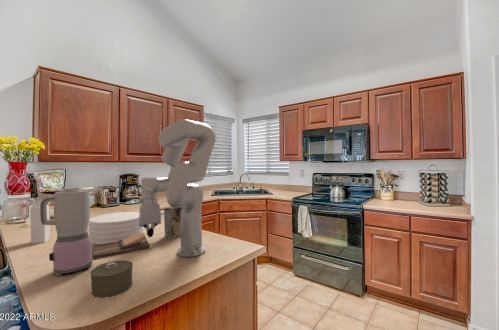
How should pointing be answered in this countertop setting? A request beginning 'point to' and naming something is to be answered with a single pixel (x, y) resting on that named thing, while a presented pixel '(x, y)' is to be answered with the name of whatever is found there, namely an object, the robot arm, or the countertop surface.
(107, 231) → the plate stack
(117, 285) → the can
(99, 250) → the walnut board
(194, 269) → the countertop surface
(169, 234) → the coffee box
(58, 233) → the blender
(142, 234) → the tile
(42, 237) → the milk
